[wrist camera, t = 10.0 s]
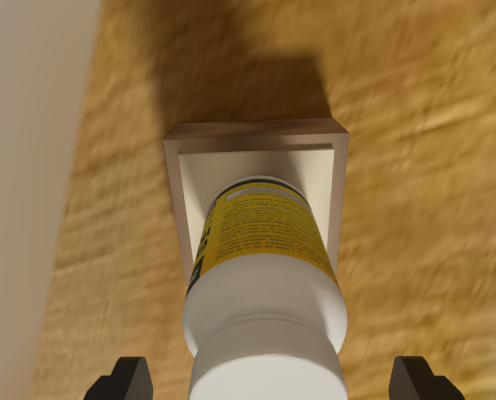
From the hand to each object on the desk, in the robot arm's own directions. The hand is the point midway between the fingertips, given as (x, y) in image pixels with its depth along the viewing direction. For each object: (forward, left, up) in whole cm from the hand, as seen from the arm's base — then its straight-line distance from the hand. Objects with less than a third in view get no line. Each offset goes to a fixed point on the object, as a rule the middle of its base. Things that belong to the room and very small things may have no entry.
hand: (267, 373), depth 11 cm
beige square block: (0, 0, -14) cm, 14 cm away
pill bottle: (0, 0, -10) cm, 10 cm away
